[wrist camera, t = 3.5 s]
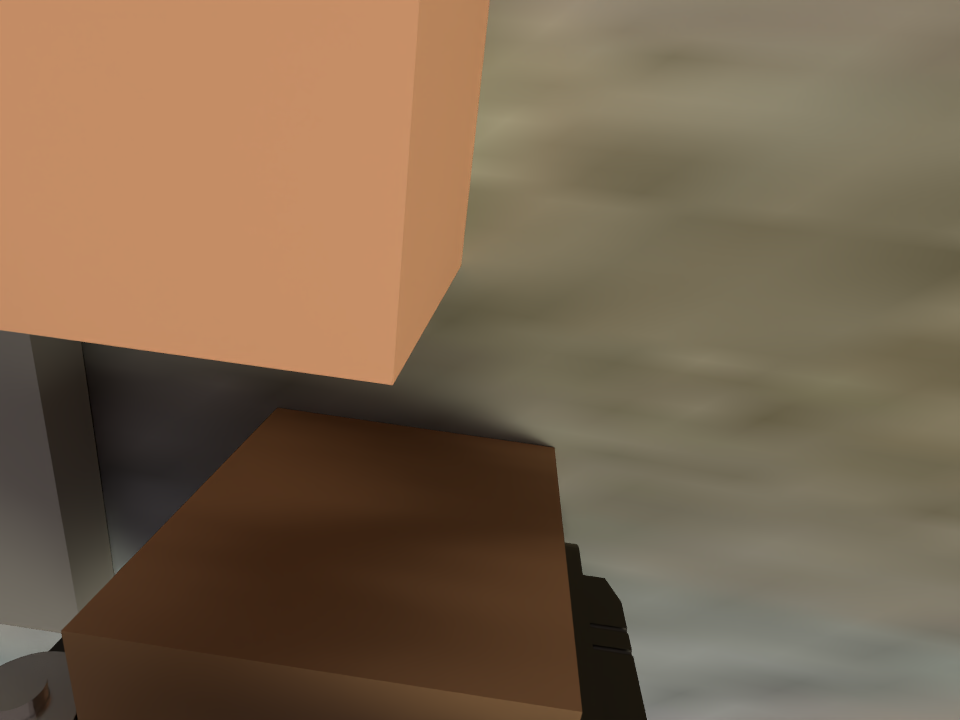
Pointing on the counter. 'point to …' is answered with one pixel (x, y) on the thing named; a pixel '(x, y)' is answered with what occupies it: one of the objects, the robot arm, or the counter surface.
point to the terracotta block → (237, 175)
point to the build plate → (48, 485)
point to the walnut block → (343, 586)
